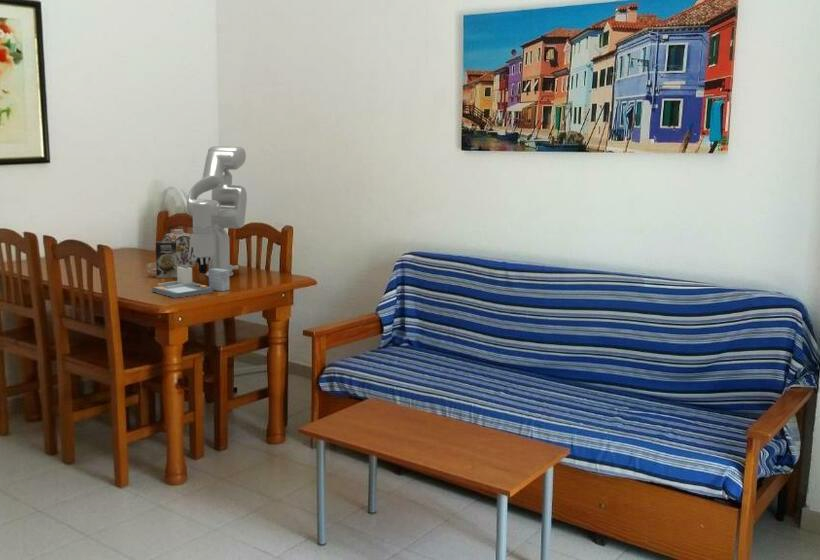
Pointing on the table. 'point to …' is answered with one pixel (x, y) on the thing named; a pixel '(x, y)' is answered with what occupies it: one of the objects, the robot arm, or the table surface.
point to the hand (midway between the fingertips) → (202, 273)
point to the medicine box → (219, 279)
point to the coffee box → (166, 259)
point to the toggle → (184, 274)
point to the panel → (181, 289)
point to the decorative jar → (181, 247)
